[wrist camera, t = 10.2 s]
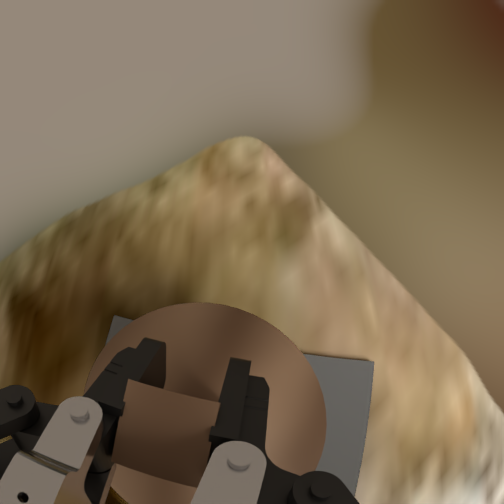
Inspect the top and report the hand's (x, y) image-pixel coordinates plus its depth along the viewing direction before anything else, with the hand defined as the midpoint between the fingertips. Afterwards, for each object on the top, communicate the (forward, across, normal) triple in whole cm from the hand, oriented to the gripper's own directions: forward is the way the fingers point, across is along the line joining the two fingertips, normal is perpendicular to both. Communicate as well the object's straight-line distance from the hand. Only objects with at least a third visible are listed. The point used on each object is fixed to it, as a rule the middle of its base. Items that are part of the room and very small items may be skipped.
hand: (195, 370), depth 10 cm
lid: (+2, 0, +5) cm, 5 cm away
